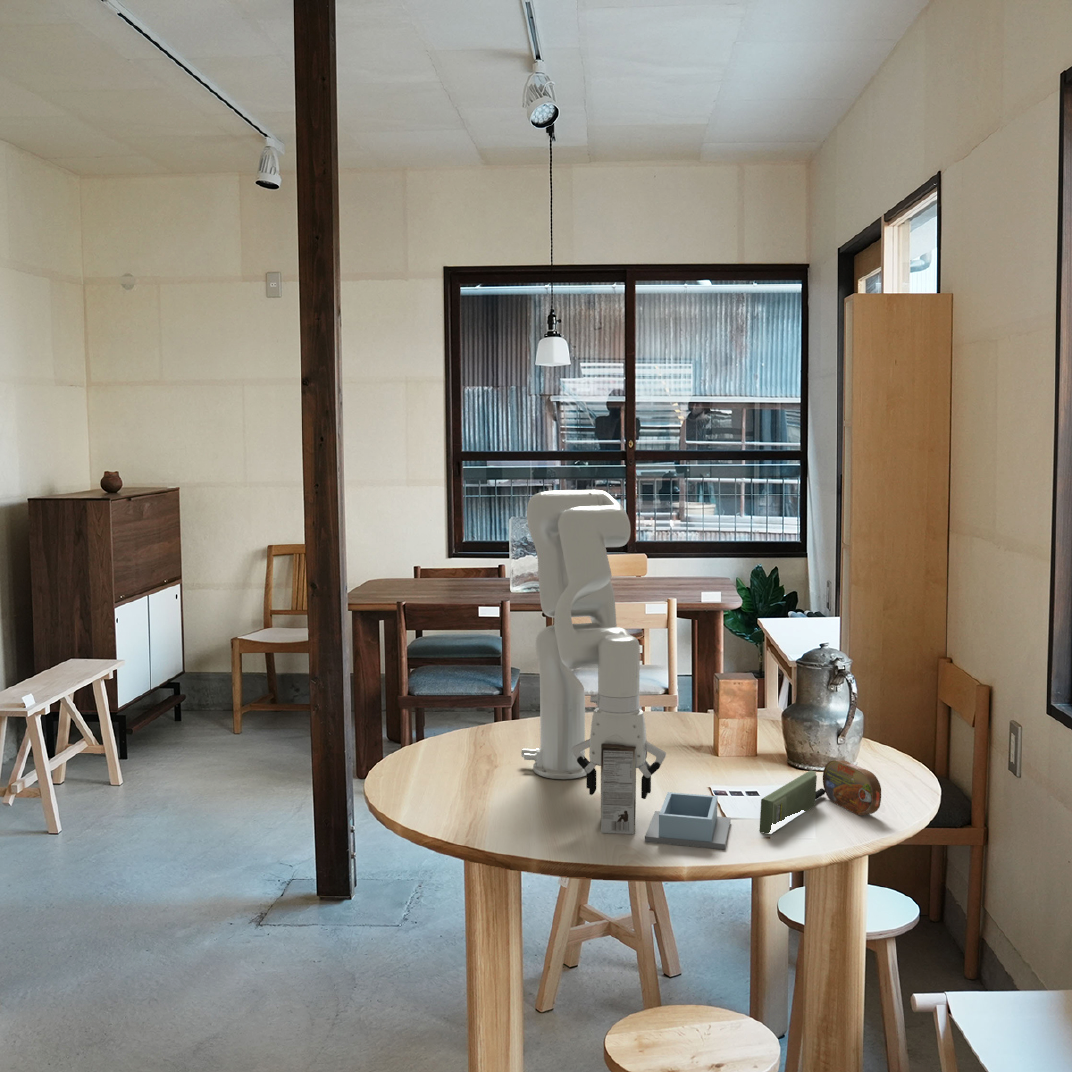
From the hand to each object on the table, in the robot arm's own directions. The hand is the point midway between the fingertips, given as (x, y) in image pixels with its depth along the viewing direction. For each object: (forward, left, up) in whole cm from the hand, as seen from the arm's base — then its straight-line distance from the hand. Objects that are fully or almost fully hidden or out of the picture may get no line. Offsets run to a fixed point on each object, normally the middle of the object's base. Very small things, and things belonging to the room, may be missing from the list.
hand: (618, 794), depth 192 cm
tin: (+42, +20, -6) cm, 47 cm away
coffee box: (0, 0, -6) cm, 6 cm away
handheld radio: (+31, +14, -6) cm, 35 cm away
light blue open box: (+13, 0, -6) cm, 14 cm away
